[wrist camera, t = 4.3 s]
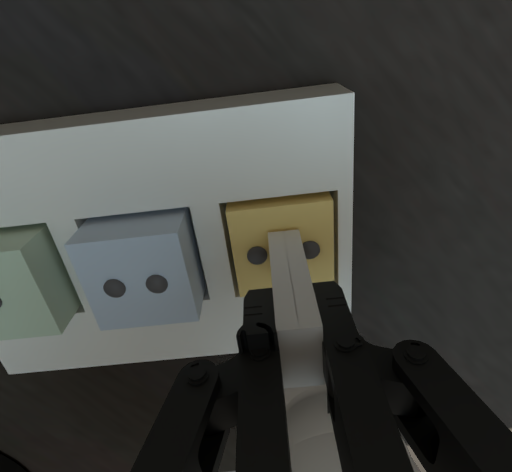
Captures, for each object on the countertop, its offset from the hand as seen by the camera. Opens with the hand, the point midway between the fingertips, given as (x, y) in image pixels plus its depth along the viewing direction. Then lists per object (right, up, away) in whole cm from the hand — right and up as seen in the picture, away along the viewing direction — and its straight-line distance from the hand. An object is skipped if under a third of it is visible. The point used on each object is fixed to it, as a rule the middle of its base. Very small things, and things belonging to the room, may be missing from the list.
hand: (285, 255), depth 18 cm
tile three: (0, +2, +3) cm, 3 cm away
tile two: (-7, 0, +2) cm, 7 cm away
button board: (-7, +1, +4) cm, 8 cm away
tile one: (-14, -1, +2) cm, 14 cm away
